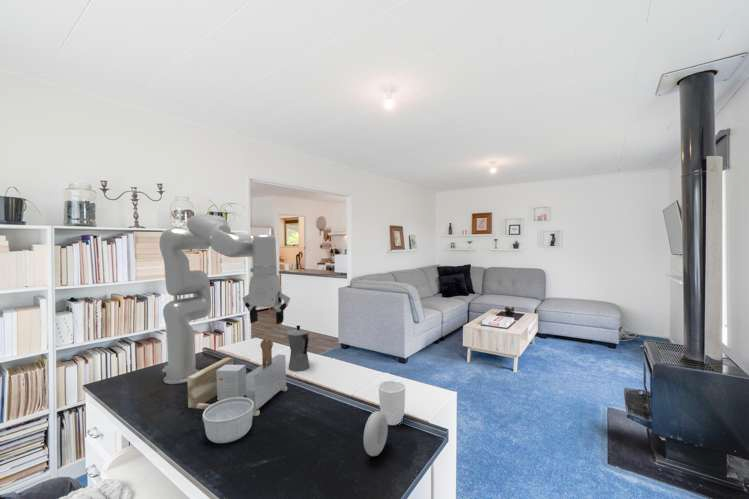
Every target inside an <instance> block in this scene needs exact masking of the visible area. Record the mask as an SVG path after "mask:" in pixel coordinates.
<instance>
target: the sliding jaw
mask: <svg viewBox="0 0 749 499" xmlns="http://www.w3.org/2000/svg"><path fill="white" fill-rule="evenodd" d="M259 346H260V348H261V355H262V356H261V358H262V360H261V361H262V363H261V365H260V366H258V367H256V368H254V369H253V370H252V371H250V372H248V373H246V395H245V396H246V398H248V399H251V400H252V401H253V403H254V410H253V411H256V410H260V408H261V407H262V406H263V405H264V404H265V403H267V402H268V401H269V400H271V399H272V398H273V397H274V396H275V395H277V393H279V392H281V391H280V390H281V389H282V388H283V387H285V386H287V371H286V370H287V368H286V367H287V366H286V364H287V363H286V354H277V355H275V356H272V355H273V352H272V348H273V346H274V342H273V340H271V339H270V338H264V339H262V340H261V342H260V344H259Z"/></svg>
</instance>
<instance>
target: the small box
mask: <svg viewBox="0 0 749 499" xmlns="http://www.w3.org/2000/svg"><path fill="white" fill-rule="evenodd" d="M246 375H247V365H246V364H234V365H224V366H222V367H221V368H219V369H218V370H217V371H216V376H217V395H216V396H217V398H216V399H217V402H218V401H221V400H224V399H228V398H234V397H244V398H245V397H246V396H247V395H246Z"/></svg>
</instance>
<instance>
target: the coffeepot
mask: <svg viewBox="0 0 749 499" xmlns="http://www.w3.org/2000/svg"><path fill="white" fill-rule="evenodd" d="M309 335H310V331H309V330H307V329H301V325H296V329H290V331H287V338H288V342H289V343H288V344H289V349H290V355H289V362H288V370H289V371H291V372H292V371H293V372H302V371H306V370H308V369H309V368H310V360H309V356H308V348H309Z"/></svg>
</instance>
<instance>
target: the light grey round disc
mask: <svg viewBox="0 0 749 499" xmlns="http://www.w3.org/2000/svg"><path fill="white" fill-rule="evenodd" d="M364 426H365V427H364V431H363V440H362V441H363V448H364V450H365V452H366V453H367V455H369V456H370V457H376V456H379V455H380V454H381V453H382V451H383V449H384V447H385V445H386V442H387V438H388V428H389V425H388V424H387V419H386V416H385V415H384V414H383V413H382V412H381V410H380V411H378V410H377V411H374V412H372V413H371V414H370V415H369V417H368V419H367V420H366V423H365V425H364Z"/></svg>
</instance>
